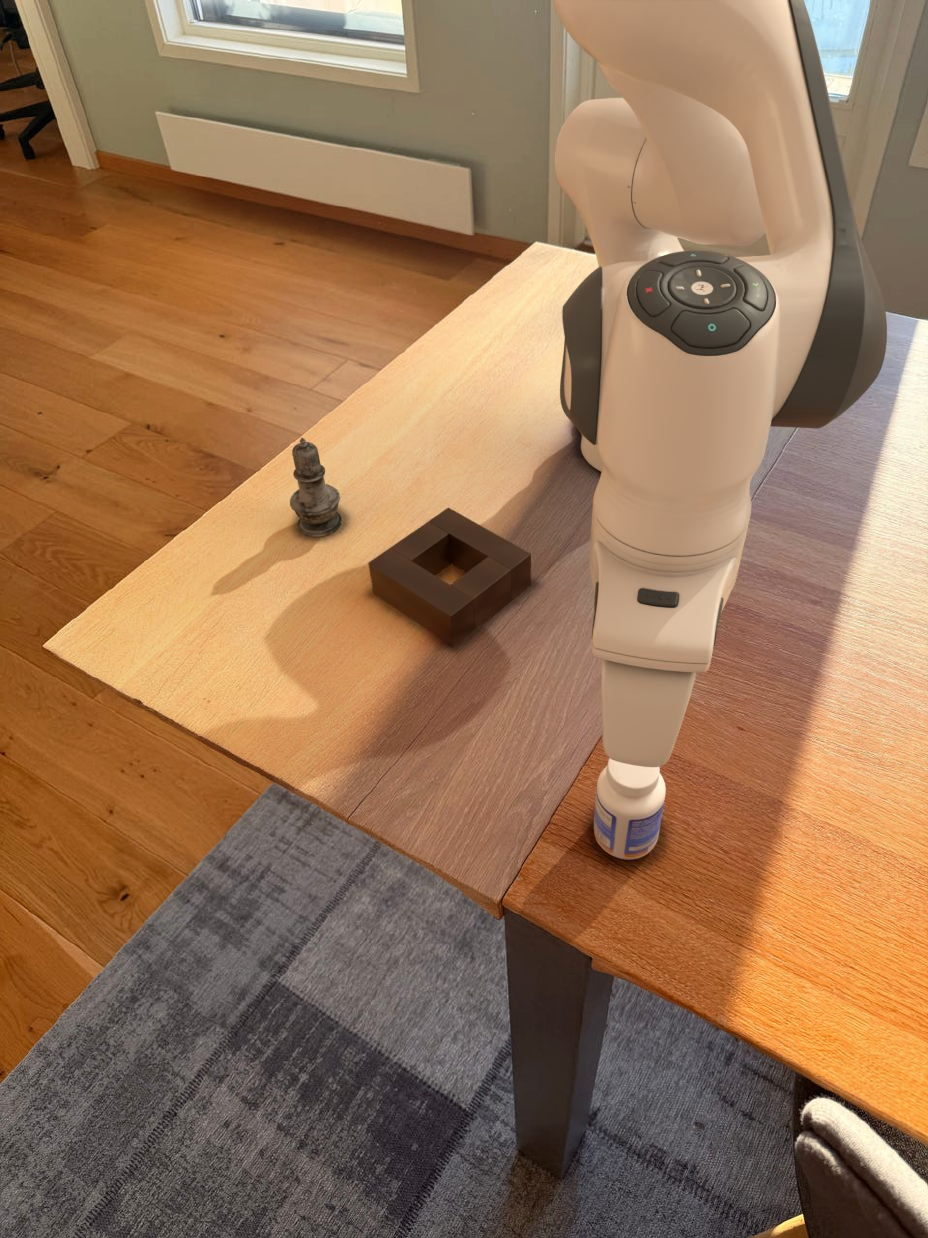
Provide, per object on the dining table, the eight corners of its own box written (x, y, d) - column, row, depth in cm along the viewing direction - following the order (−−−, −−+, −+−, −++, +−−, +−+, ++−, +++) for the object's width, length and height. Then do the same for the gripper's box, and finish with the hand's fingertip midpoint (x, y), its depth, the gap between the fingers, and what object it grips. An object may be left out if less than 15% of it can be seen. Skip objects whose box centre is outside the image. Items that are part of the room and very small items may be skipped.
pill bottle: (663, 815, 78) (676, 746, 71) (651, 869, 74) (663, 803, 67) (600, 799, 79) (607, 730, 72) (586, 852, 75) (591, 785, 69)
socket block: (450, 537, 105) (448, 507, 101) (531, 584, 98) (531, 553, 95) (373, 593, 99) (367, 562, 96) (453, 647, 93) (450, 616, 89)
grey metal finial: (336, 540, 105) (319, 455, 97) (288, 536, 106) (267, 451, 98) (350, 509, 109) (335, 424, 101) (304, 505, 110) (285, 420, 102)
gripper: (630, 440, 61) (616, 589, 71) (587, 660, 47) (576, 807, 57) (726, 449, 60) (698, 599, 70) (711, 678, 46) (678, 825, 56)
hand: (643, 695), depth 63 cm, fingers open, 8 cm apart
